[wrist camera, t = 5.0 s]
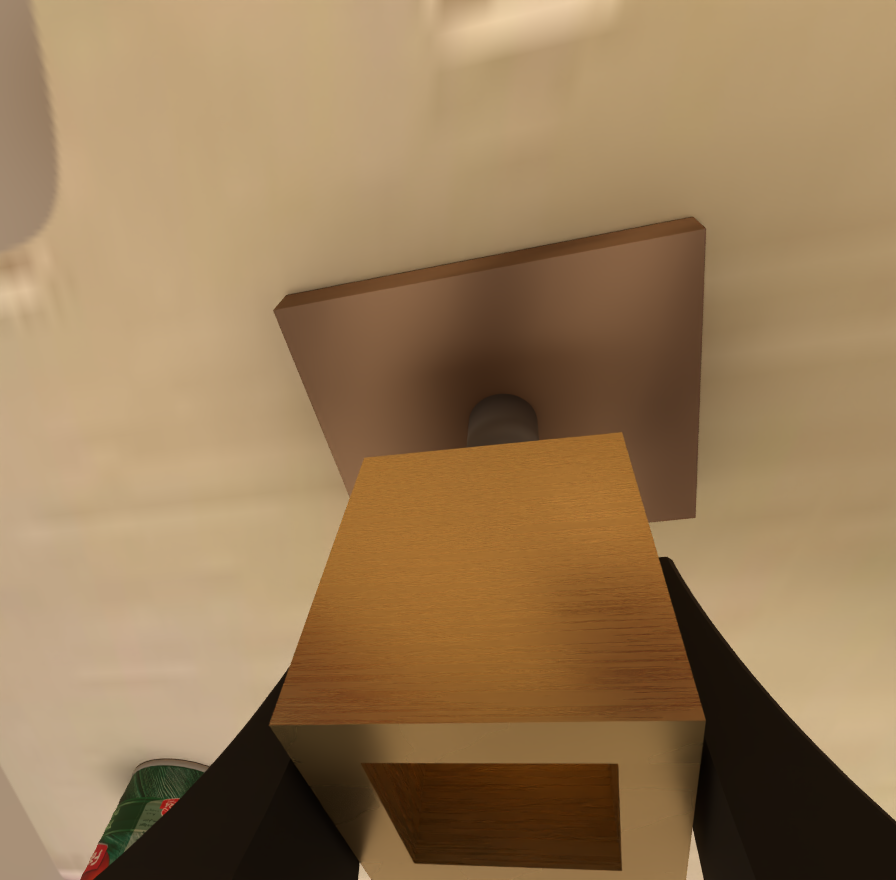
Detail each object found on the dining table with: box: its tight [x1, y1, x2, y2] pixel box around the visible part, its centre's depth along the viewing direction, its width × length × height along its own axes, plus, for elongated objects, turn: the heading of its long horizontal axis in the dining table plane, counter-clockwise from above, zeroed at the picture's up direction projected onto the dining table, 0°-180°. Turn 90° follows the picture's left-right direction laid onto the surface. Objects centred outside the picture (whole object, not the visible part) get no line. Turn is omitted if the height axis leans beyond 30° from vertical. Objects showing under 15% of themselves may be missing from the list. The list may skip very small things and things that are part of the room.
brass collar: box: [269, 432, 706, 880], centre depth 11 cm, size 6×6×6 cm
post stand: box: [273, 217, 706, 522], centre depth 18 cm, size 12×10×4 cm
